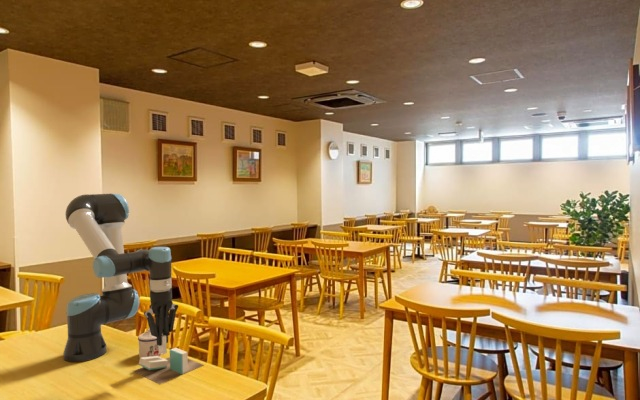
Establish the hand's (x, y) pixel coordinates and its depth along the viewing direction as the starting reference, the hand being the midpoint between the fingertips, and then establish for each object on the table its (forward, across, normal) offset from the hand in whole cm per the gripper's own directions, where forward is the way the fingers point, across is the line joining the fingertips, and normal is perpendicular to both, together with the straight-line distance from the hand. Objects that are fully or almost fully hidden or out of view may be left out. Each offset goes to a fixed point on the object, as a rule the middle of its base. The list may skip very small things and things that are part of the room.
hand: (162, 352), depth 155 cm
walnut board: (+6, 0, -5) cm, 7 cm away
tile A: (+3, 0, 0) cm, 3 cm away
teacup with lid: (+6, +4, +12) cm, 14 cm away
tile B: (+4, 0, -9) cm, 10 cm away
